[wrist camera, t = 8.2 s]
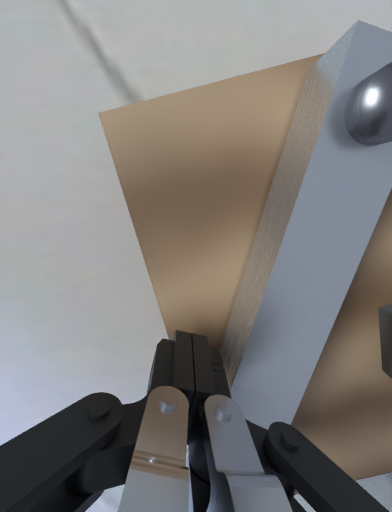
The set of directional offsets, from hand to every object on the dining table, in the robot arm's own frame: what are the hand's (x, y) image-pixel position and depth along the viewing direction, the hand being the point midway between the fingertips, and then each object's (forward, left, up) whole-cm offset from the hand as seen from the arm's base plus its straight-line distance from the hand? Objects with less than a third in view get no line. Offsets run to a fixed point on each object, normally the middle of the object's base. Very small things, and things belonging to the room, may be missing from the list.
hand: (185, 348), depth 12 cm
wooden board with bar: (-1, -5, -4) cm, 7 cm away
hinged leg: (+2, -5, -1) cm, 6 cm away
